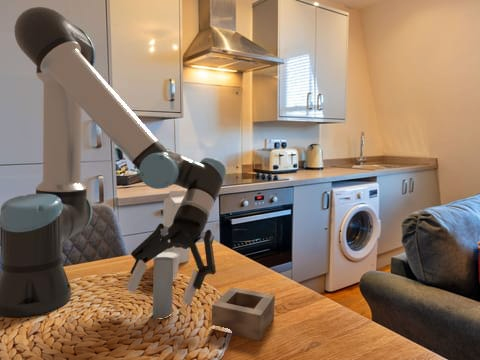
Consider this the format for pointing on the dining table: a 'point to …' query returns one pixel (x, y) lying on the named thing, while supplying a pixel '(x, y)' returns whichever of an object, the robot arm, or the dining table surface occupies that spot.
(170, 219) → the milk
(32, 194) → the robot arm
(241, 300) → the socket
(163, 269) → the grey cylinder
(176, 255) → the grey and white cylinder
